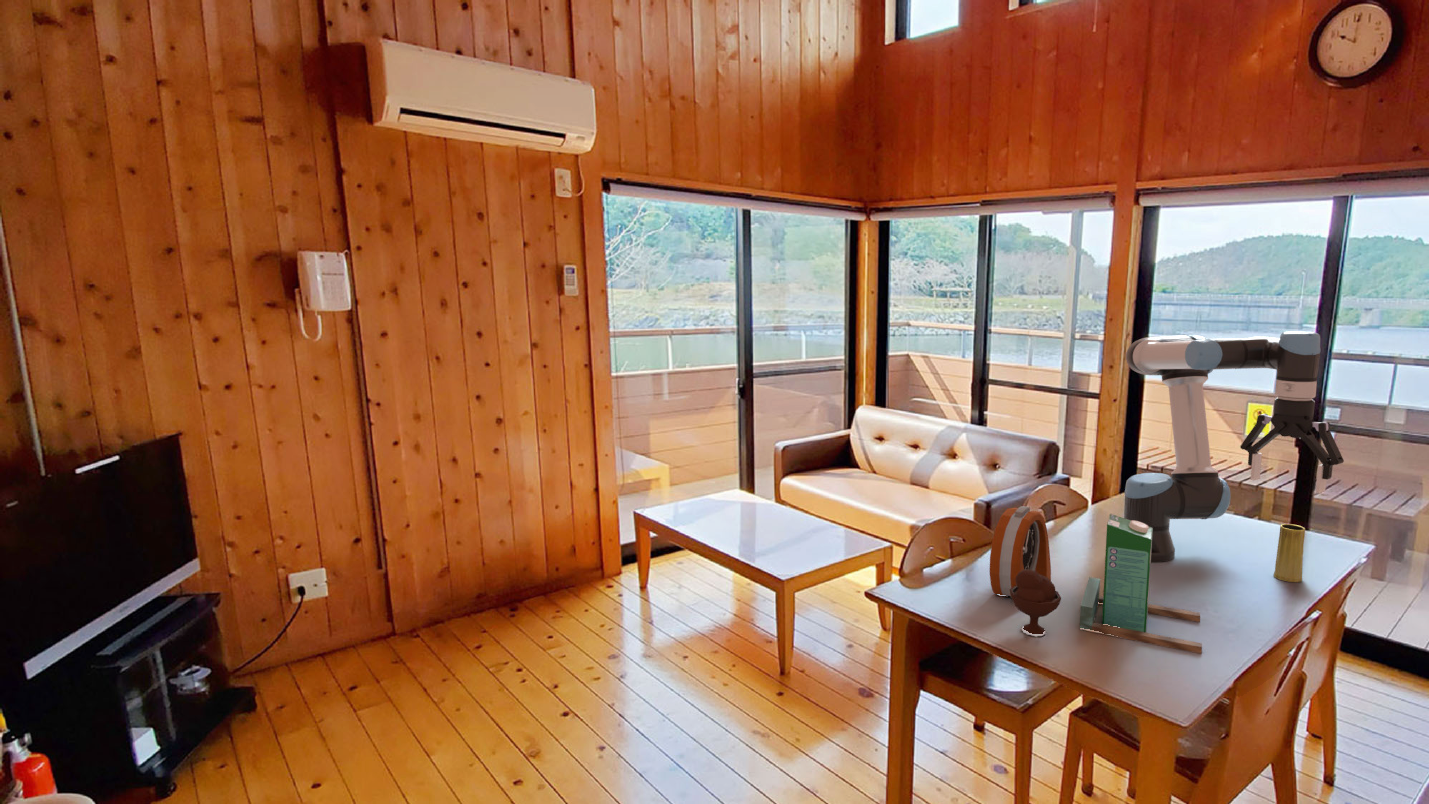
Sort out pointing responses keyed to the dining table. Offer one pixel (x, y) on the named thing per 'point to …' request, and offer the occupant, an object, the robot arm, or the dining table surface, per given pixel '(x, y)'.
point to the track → (1087, 620)
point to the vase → (1290, 553)
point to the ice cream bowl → (1034, 597)
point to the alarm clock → (1018, 548)
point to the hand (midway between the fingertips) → (1286, 485)
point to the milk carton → (1127, 573)
